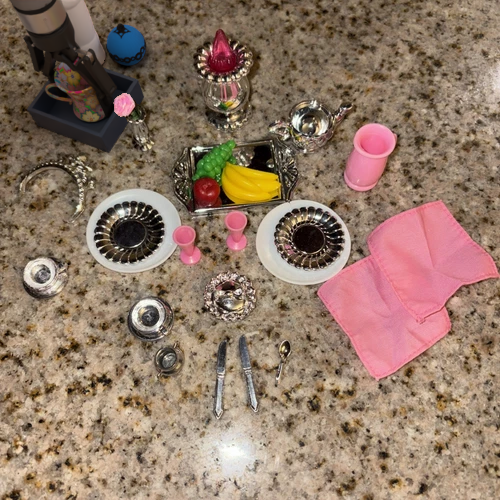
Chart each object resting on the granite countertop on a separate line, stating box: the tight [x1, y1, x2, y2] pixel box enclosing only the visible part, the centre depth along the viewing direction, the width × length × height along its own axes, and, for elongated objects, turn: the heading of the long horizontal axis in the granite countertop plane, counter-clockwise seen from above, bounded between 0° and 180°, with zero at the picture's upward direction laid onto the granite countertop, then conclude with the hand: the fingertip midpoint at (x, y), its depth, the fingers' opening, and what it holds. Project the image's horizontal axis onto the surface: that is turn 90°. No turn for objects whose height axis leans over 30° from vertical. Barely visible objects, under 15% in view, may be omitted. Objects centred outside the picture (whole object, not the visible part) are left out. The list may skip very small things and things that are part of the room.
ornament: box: [105, 22, 147, 67], centre depth 107 cm, size 9×9×10 cm
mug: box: [45, 58, 106, 122], centre depth 101 cm, size 12×9×11 cm
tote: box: [26, 62, 145, 154], centre depth 104 cm, size 18×16×6 cm
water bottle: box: [61, 0, 106, 66], centre depth 100 cm, size 7×7×25 cm
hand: (87, 103), depth 104 cm, fingers open, 10 cm apart
